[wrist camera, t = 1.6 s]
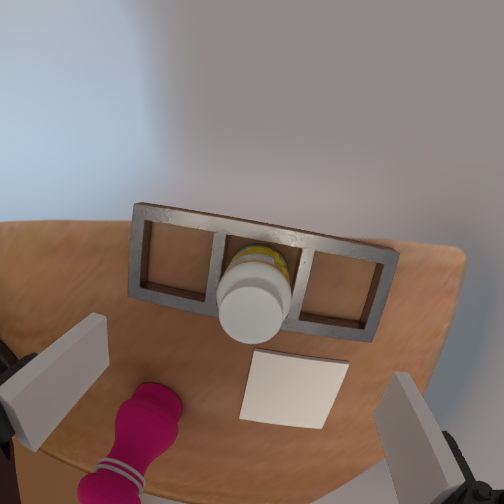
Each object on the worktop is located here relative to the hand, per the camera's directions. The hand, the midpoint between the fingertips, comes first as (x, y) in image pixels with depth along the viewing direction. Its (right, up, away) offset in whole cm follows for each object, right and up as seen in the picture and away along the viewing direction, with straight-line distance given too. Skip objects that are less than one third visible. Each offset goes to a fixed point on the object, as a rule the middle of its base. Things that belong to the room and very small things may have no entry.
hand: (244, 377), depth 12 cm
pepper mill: (-11, -13, +20) cm, 27 cm away
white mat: (+5, -10, +18) cm, 21 cm away
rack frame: (+1, +3, +15) cm, 16 cm away
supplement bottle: (+1, +4, +16) cm, 16 cm away
